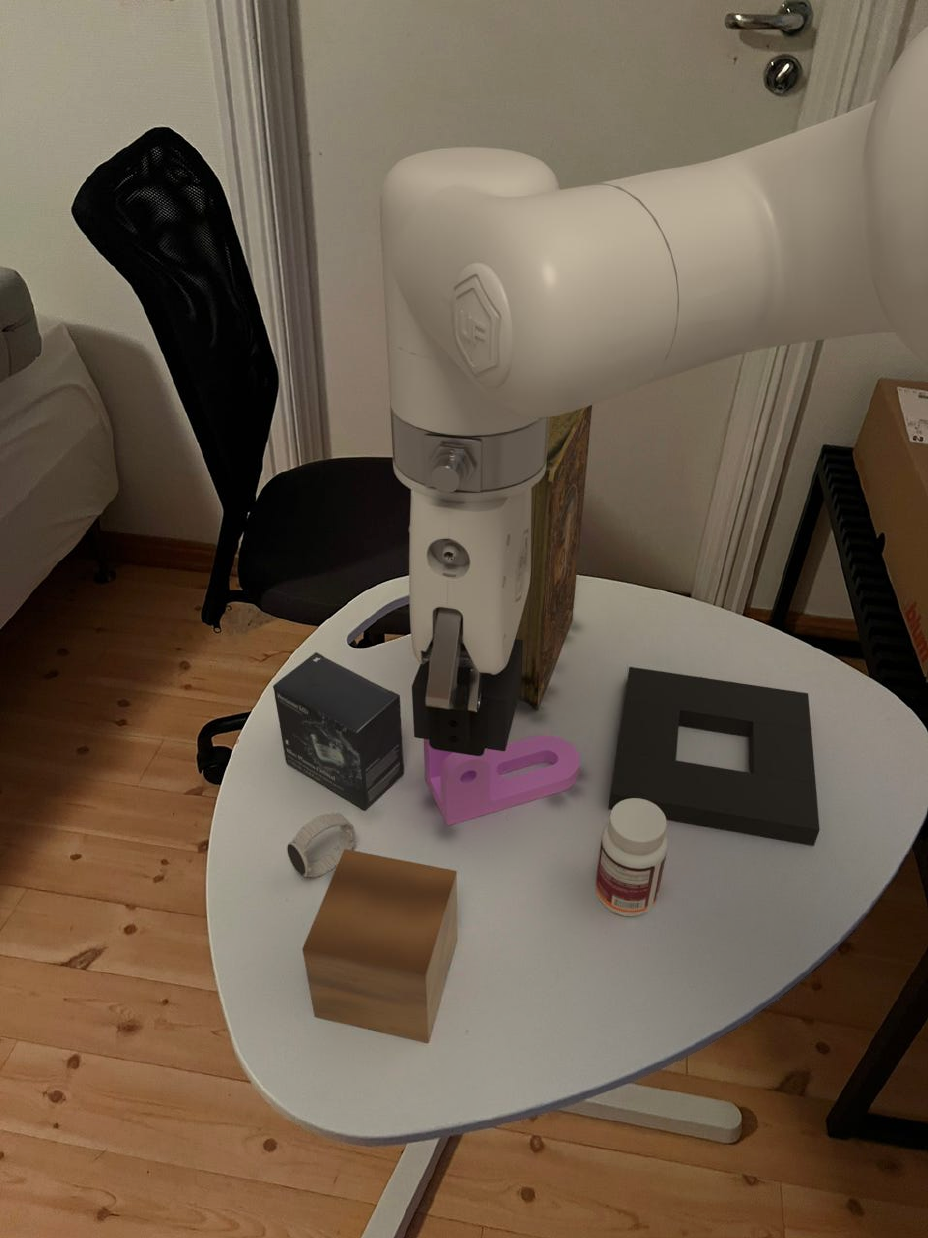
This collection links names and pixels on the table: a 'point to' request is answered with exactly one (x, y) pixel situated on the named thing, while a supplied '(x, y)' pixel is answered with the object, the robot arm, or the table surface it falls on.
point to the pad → (495, 689)
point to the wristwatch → (311, 831)
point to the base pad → (713, 796)
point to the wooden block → (383, 945)
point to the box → (340, 729)
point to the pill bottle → (632, 857)
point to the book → (554, 551)
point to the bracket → (498, 776)
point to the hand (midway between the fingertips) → (468, 710)
